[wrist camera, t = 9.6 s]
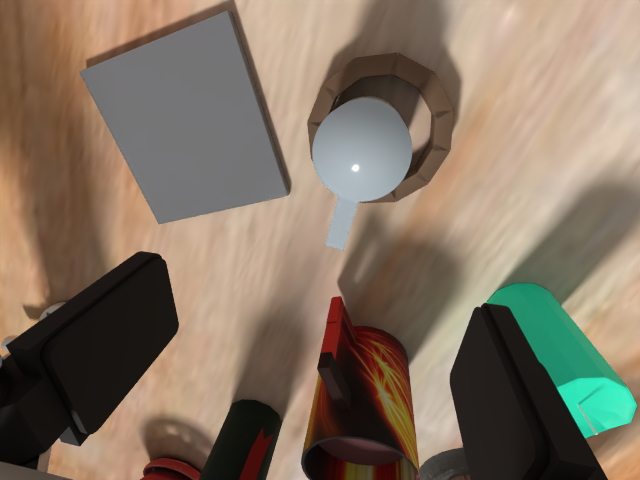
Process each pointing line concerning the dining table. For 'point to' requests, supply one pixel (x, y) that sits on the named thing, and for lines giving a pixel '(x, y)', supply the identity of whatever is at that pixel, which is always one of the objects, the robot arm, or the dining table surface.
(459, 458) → the tankard
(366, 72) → the stand
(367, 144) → the jug
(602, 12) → the dining table surface
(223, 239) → the dining table surface
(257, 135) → the tile
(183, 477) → the plant pot
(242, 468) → the wine bottle
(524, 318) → the candle
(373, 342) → the mug
